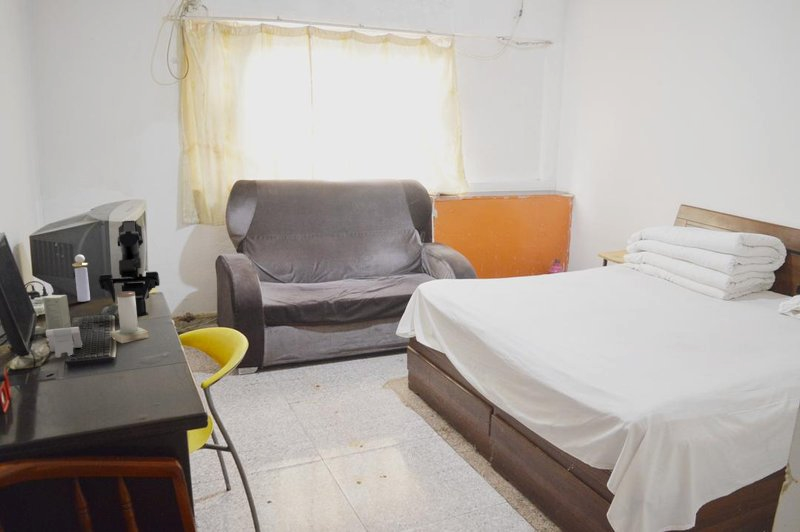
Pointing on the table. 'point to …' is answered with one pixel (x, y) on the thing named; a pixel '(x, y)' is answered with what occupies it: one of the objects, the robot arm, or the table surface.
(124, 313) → the tumbler
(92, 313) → the table surface
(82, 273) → the perfume bottle
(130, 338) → the square tray
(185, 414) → the table surface
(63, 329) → the portable electronic device stand
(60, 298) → the skincare box
